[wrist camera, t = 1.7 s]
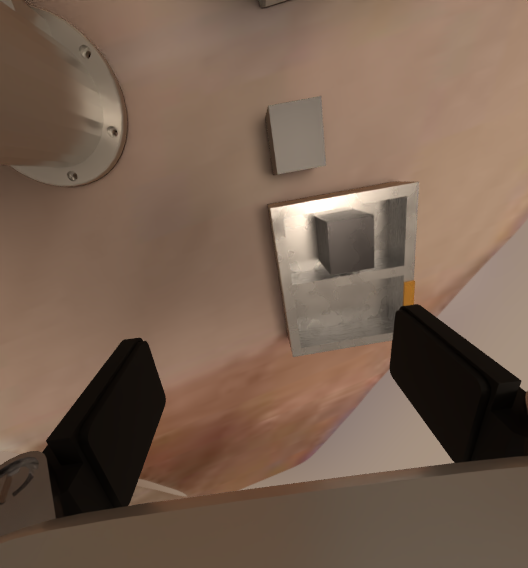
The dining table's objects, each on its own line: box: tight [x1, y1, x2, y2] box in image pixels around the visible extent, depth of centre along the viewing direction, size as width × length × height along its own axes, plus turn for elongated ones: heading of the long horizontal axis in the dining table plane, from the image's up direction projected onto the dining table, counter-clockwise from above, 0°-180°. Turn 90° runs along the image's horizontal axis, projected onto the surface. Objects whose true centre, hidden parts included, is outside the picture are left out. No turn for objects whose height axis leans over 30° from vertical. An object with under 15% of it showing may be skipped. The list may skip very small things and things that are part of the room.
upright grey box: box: [265, 96, 326, 175], centre depth 22 cm, size 5×4×4 cm
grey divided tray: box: [267, 181, 419, 357], centre depth 27 cm, size 16×13×5 cm
